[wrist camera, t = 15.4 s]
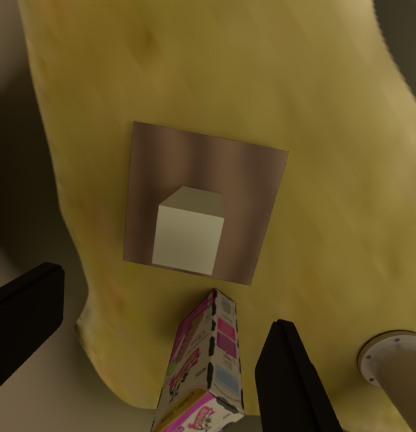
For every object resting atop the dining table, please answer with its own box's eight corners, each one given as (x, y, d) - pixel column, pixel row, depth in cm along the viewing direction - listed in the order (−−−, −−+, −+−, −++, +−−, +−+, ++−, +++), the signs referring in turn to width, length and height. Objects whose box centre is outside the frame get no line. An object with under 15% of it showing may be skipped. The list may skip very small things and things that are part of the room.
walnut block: (275, 152, 29) (289, 151, 23) (245, 263, 34) (250, 285, 28) (150, 128, 29) (133, 121, 23) (139, 242, 34) (122, 260, 28)
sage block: (223, 194, 25) (224, 218, 15) (214, 231, 26) (211, 275, 17) (182, 186, 25) (159, 205, 15) (176, 224, 26) (151, 263, 17)
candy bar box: (213, 285, 35) (208, 391, 19) (236, 301, 35) (248, 416, 20) (176, 325, 38) (144, 446, 22) (197, 339, 38) (181, 466, 23)
